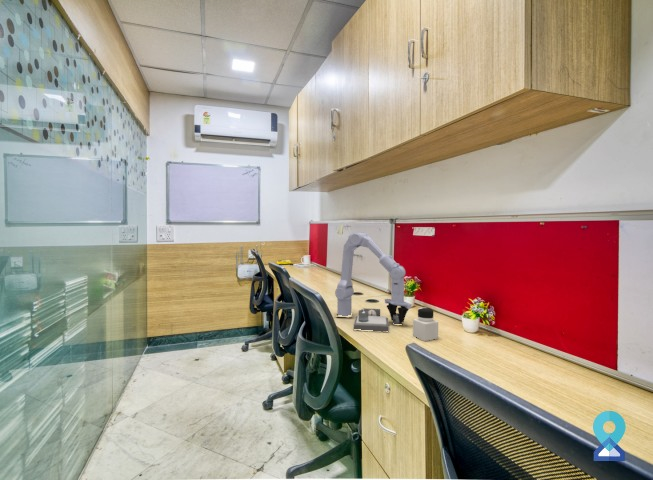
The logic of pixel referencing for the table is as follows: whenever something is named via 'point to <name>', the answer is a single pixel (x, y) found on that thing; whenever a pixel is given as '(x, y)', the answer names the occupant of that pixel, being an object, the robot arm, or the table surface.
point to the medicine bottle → (425, 325)
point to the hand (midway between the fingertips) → (397, 321)
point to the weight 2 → (396, 318)
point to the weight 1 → (363, 315)
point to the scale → (373, 321)
